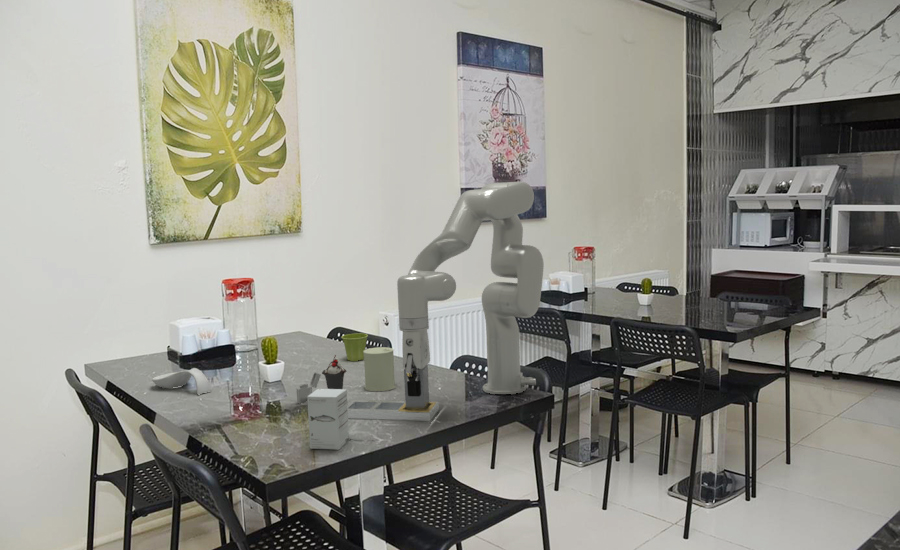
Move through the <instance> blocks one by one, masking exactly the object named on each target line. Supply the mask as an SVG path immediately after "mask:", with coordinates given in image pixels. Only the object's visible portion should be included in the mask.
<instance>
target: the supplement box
mask: <svg viewBox="0 0 900 550" xmlns="http://www.w3.org/2000/svg"><path fill="white" fill-rule="evenodd" d="M307 400H308V401H307V415H308V416H307V419H308V420H307V421H308V437H309V449H310V450H313V449H315V450H316V449H318V450H319V449H320V450H334V451H339V450H340V449H341V448H342V447H344V446H345V445H346V444H347V443H348V441H349V419H348V408H347V404H348V389H344V388H343V389H328V388H317V389H315V390H314V391H312V393H311V394H310V395H309V396H307Z"/></svg>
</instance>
